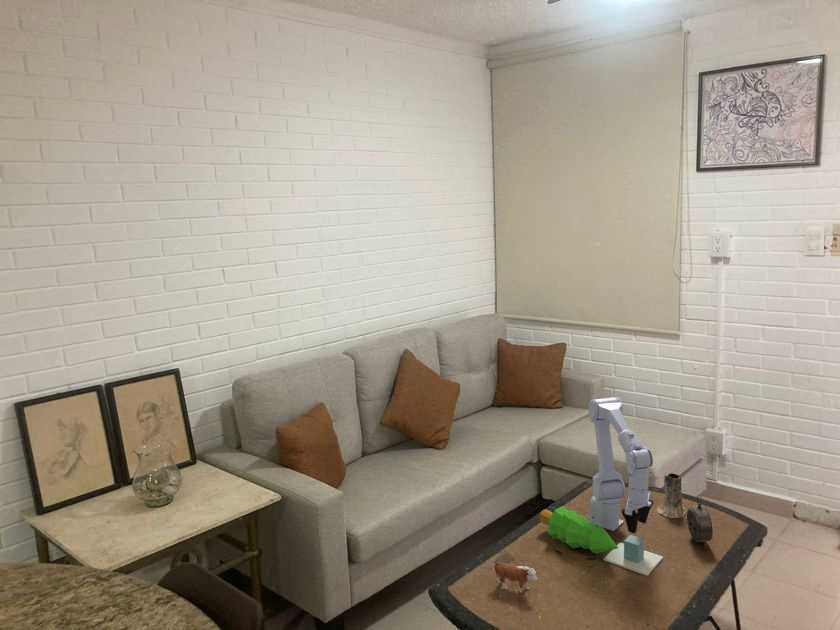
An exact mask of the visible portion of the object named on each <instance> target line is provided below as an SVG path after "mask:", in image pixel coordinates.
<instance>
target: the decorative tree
mask: <svg viewBox="0 0 840 630" xmlns="http://www.w3.org/2000/svg"><path fill="white" fill-rule="evenodd" d="M539 520H540V522H541V523H542V524H545V525H547V526H548V531H547V532H548V535H549V536H551V537H552V538H553V539H554V540H556V539H558V540H559V541H560V542H562V543H563V544H566V545H568V546H569V547H570V548H572V549H577V548H582V549H583V550H586V549H589V550H590V552H592V553H593V554H598V553H603V552H607V551H612V550H613V549H618V547H617V545H618V544H616V542H615V541H614V540H613V539H612V537H611V536H610V535H609V533H608V532H607V531H606V530H605V528H603V527H601V526H597V525H595V524H594V523H593V522H592V521H591V522H589V521H588V519H586V517H585V516H583V515H582V514H581V513H579V514H577V513H576V511H574V510H573V509H571V510H568V509H567V508H566V507H565V506H564V505H563V506H560V507H558V508H556V509H554V510H553V512H552V511H550V510H548V509H546V508H545V509H543V510H541V512H540V514H539Z"/></svg>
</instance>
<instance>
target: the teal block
mask: <svg viewBox="0 0 840 630" xmlns="http://www.w3.org/2000/svg"><path fill="white" fill-rule="evenodd" d="M623 543H624V559H627V560H630V561H632V562H635V563H639V562H640V560H641V559H642V558H643V557H644V550H645V539H644V538H641V537H638V536H635V535H632V534H630V535H628V536H627V537H626V538H625V539H624V540H623Z"/></svg>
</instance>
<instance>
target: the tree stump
mask: <svg viewBox="0 0 840 630" xmlns="http://www.w3.org/2000/svg"><path fill="white" fill-rule="evenodd" d="M663 481H664V483H663V486H664V487H663V488H664V498H663V501H662V503H661V504H660V505H658V506H657V508H656V511H657V513H658V514H660V515H662V516H664V517H666V518H669V519H681V517H683V516H684V515H683V514H685V512H687V511H688V510H687V508H686V507H685V506H683V492H682V476H681V475H678V474H676V473H669V474H667V475H664V480H663ZM683 518H684V517H683Z"/></svg>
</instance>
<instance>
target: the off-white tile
mask: <svg viewBox="0 0 840 630" xmlns="http://www.w3.org/2000/svg"><path fill="white" fill-rule="evenodd" d="M616 545H617V547H618V549H613V550H610V552H608V553H607V554H606V556H605V557H603V561H605V562H607V563H610V564H613V565H616V566H618V567H621V568H624V569H627V570H630V571H632V572H635V573H639V574H640V575H643V576H646V577H649V575H650V574H651V573H652V571H654V569H655V568H656V567H657V566H659V564H660V563H661V561H662V560H663V559H664V556H663V555H662V556H661V555H660V554H656V553H653V552H650V551H647V550H645V549H644V557H643V558H642V559H641V560H640V562H639V563H635V562H632V561H630V560H627V559H624V542H619V543H618V544H616Z"/></svg>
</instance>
